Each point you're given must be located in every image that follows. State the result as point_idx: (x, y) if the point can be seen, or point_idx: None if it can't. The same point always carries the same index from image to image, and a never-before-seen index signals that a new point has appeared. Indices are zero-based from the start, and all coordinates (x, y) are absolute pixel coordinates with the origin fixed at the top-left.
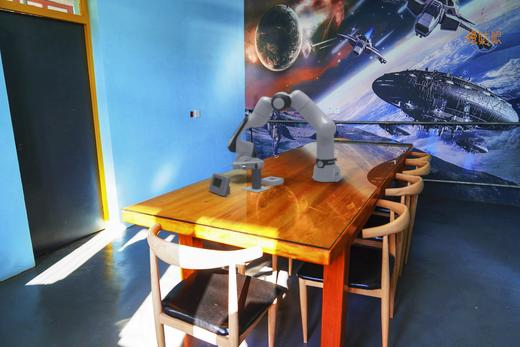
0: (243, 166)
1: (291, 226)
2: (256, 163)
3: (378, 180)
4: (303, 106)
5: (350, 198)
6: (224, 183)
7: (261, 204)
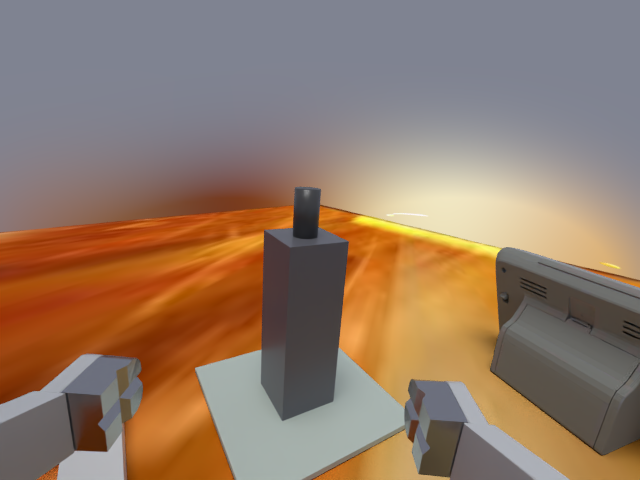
0: (438, 381)
1: (326, 220)
2: (309, 187)
3: None
4: None
5: (72, 236)
6: (526, 284)
7: (347, 265)
